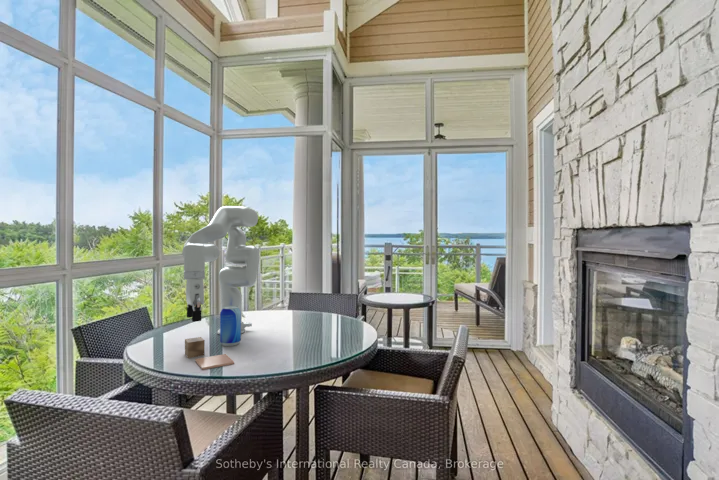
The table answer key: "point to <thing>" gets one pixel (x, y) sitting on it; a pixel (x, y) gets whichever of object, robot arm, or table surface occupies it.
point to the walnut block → (194, 347)
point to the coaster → (214, 361)
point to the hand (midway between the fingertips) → (193, 319)
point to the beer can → (230, 326)
